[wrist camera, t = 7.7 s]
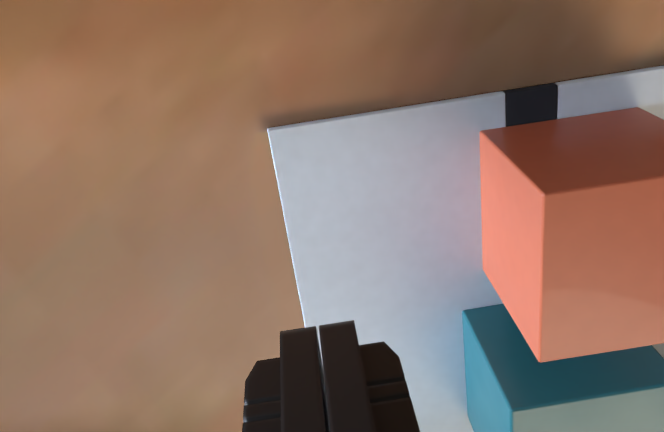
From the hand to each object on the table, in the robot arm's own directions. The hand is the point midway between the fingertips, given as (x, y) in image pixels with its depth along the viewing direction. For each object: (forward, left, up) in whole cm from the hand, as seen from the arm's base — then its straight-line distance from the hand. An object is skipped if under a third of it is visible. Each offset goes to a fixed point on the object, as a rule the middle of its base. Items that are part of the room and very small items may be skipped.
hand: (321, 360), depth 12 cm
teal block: (+7, +7, -8) cm, 13 cm away
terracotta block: (+1, +8, -8) cm, 11 cm away
